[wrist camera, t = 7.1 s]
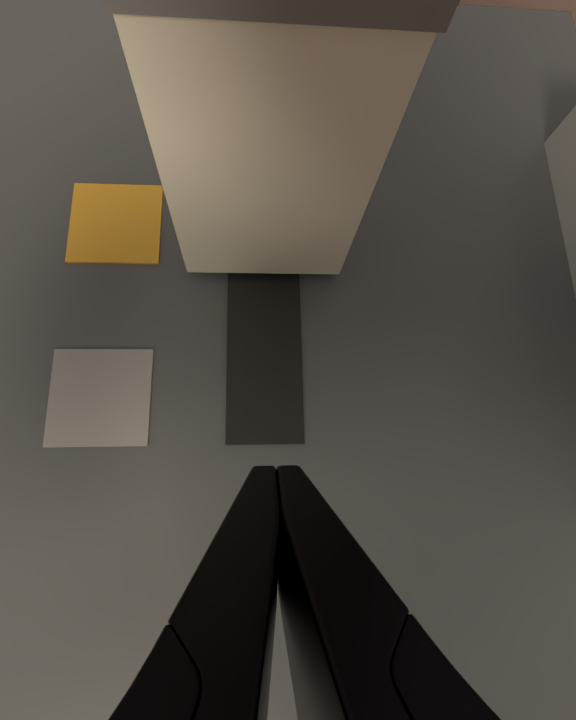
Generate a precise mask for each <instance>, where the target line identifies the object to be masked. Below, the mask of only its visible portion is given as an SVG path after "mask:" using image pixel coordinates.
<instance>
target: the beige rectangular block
mask: <svg viewBox="0 0 576 720" xmlns="http://www.w3.org/2000/svg"><path fill="white" fill-rule="evenodd" d="M459 1H460V0H100V3H101V6H102V9H103V13H109V14H113V16H114V20H115V23H116V27H117V30H118V34H119V37H120V41H121V44H122V48H123V51H124V55H125V58H126V62H127V65H128V69H129V72H130V76H131V79H132V82H133V86H134V89H135V93H136V96H137V100H138V103H139V107H140V110H141V114H142V117H143V121H144V124H145V128H146V131H147V135H148V138H149V142H150V145H151V148H152V152H153V155H154V159H155V162H156V166H157V169H158V173H159V176H160V180H161V183H162V187H163V190H164V194H165V197H166V201H167V204H168V208H169V211H170V214H171V218H172V221H173V225H174V228H175V232H176V235H177V239H178V242H179V246H180V249H181V253H182V256H183V260H184V263H185V267H186V270H187V272H203V273H271V274H338V275H339V274H340V271H341V269H342V266H343V264H344V261H345V259H346V256H347V254H348V251H349V249H350V246H351V244H352V241H353V239H354V236H355V234H356V232H357V229H358V227H359V224H360V222H361V219H362V217H363V214H364V212H365V209H366V207H367V204H368V202H369V199H370V197H371V194H372V192H373V190H374V187H375V185H376V182H377V180H378V177H379V175H380V172H381V170H382V167H383V165H384V162H385V160H386V157H387V155H388V152H389V150H390V148H391V145H392V143H393V140H394V138H395V135H396V133H397V130H398V128H399V125H400V123H401V120H402V118H403V115H404V113H405V110H406V108H407V106H408V103H409V101H410V98H411V96H412V93H413V91H414V88H415V86H416V83H417V81H418V78H419V76H420V73H421V71H422V68H423V66H424V64H425V61H426V59H427V56H428V54H429V51H430V49H431V46H432V44H433V41H434V39H435V36H436V34H437V32H438V33H446V32H447V29H448V27H449V25H450V22H451V20H452V17H453V15H454V13H455V10H456V8H457V6H458V3H459Z"/></svg>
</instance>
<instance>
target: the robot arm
mask: <svg viewBox="0 0 576 720" xmlns="http://www.w3.org/2000/svg"><path fill="white" fill-rule="evenodd" d="M277 589H278V594H279V602H280V609H281V616H282V622H283V628H284V635H285V641H286V648H287V654H288V660H289V667H290V673H291V680H292V686H293V692H294V699H295V705H296V712H297V718H298V720H501V719H500V718H499V717H498V716H497V715H496V713H495V712H494V711H493V710H492V709H491V708H490V707H489V706H488V705H487V704H486V703H485V701H484V700H483V699H482V698H481V697H480V696H479V695H478V694H477V692H476V691H475V690H474V689H473V688H472V687H471V686H470V685H469V683H468V682H467V681H466V680H465V679H464V678H463V677H462V676H461V674H460V673H459V672H458V671H457V670H456V669H455V668H454V666H453V665H452V664H451V663H450V661H449V660H448V659H447V658H446V656H445V655H444V654H443V653H442V651H441V650H440V649H439V648H438V646H437V645H436V644H435V643H434V641H433V640H432V639H431V638H430V636H429V635H428V634H427V633H426V631H425V630H424V629H423V627H422V626H421V625H420V623H419V622H418V621H417V619H416V618H415V617H414V615H413V614H409V609H408V608H407V606H406V605H405V604H404V602H403V601H402V600H401V599H400V597H399V596H398V595H397V593H396V592H395V591H394V589H393V588H392V587H391V585H390V584H389V583H388V581H387V580H386V579H385V578H384V576H383V575H382V574H381V572H380V571H379V570H378V568H377V567H376V566H375V564H374V563H373V562H372V560H371V559H370V558H369V556H368V555H367V554H366V553H365V551H364V550H363V549H362V547H361V546H360V545H359V543H358V542H357V541H356V539H355V538H354V537H353V535H352V534H351V533H350V532H349V530H348V529H347V528H346V526H345V525H344V524H343V522H342V521H341V520H340V518H339V517H338V516H337V514H336V513H335V512H334V510H333V509H332V508H331V507H330V505H329V504H328V503H327V501H326V500H325V499H324V497H323V496H322V495H321V493H320V492H319V491H318V489H317V488H316V487H315V486H314V484H313V483H312V482H311V480H310V479H309V478H308V476H307V475H306V474H305V472H304V471H303V470H302V468H301V467H300V466H298V465H280V466H278V467H277V469H276V468H275V467H274V466H254V467H253V468H252V469H251V471H250V472H249V474H248V476H247V478H246V480H245V481H244V483H243V485H242V487H241V489H240V491H239V492H238V494H237V496H236V498H235V500H234V502H233V503H232V505H231V507H230V509H229V511H228V512H227V514H226V516H225V518H224V520H223V522H222V523H221V525H220V527H219V529H218V531H217V532H216V534H215V536H214V538H213V540H212V542H211V543H210V545H209V547H208V549H207V551H206V552H205V554H204V556H203V558H202V560H201V562H200V563H199V565H198V567H197V569H196V571H195V572H194V574H193V576H192V578H191V580H190V582H189V583H188V585H187V587H186V589H185V591H184V592H183V594H182V596H181V598H180V600H179V602H178V603H177V605H176V607H175V609H174V611H173V612H172V614H171V616H170V618H169V620H168V625H165V627H164V628H163V630H162V632H161V634H160V636H159V637H158V639H157V641H156V643H155V645H154V646H153V648H152V650H151V652H150V653H149V655H148V657H147V659H146V660H145V662H144V664H143V665H142V667H141V669H140V670H139V672H138V674H137V676H136V677H135V679H134V681H133V682H132V684H131V686H130V687H129V689H128V690H127V692H126V693H125V695H124V696H123V698H122V699H121V701H120V702H119V704H118V705H117V707H116V708H115V710H114V711H113V713H112V715H111V716H110V718H109V719H108V720H267V717H268V705H269V693H270V681H271V669H272V657H273V645H274V633H275V621H276V609H277ZM408 614H409V615H408Z"/></svg>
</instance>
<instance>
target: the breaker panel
mask: <svg viewBox="0 0 576 720" xmlns="http://www.w3.org/2000/svg"><path fill="white" fill-rule="evenodd" d="M280 465H298V466H300V467H301V468H302V470H303V471H304V472H305V474H306V475H307V476H308V478H309V479H310V480H311V482H312V483H313V484H314V486H315V487H316V488H317V489H318V491H319V492H320V493H321V495H322V496H323V497H324V499H325V500H326V501H327V503H328V504H329V505H330V507H331V508H332V509H333V510H334V512H335V513H336V514H337V516H338V517H339V518H340V520H341V521H342V522H343V524H344V525H345V526H346V528H347V529H348V530H349V532H350V533H351V534H352V535H353V537H354V538H355V539H356V541H357V542H358V543H359V545H360V546H361V547H362V549H363V550H364V551H365V553H366V554H367V555H368V556H369V558H370V559H371V560H372V562H373V563H374V564H375V566H376V567H377V568H378V570H379V571H380V572H381V574H382V575H383V576H384V578H385V579H386V580H387V581H388V583H389V584H390V585H391V587H392V588H393V589H394V591H395V592H396V593H397V595H398V596H399V597H400V599H401V600H402V601H403V602H404V604H405V605H406V606H407V608H408V609H409V614H413V615H414V617H415V618H416V619H417V621H418V622H419V623H420V625H421V626H422V627H423V629H424V630H425V631H426V633H427V634H428V635H429V636H430V638H431V639H432V640H433V641H434V643H435V644H436V645H437V646H438V648H439V649H440V650H441V651H442V653H443V654H444V655H445V656H446V658H447V659H448V660H449V661H450V663H451V664H452V665H453V666H454V668H455V669H456V670H457V671H458V672H459V673H460V674H461V676H462V677H463V678H464V679H465V680H466V681H467V682H468V683H469V685H470V686H471V687H472V688H473V689H474V690H475V691H476V692H477V694H478V695H479V696H480V697H481V698H482V699H483V700H484V701H485V703H486V704H487V705H488V706H489V707H490V708H491V709H492V710H493V711H494V712H495V713H496V715H497V716H498V717H499V718H500V719H501V720H576V30H575V26H574V22H573V18H572V14H571V12H570V11H554V10H538V9H522V8H506V7H490V6H474V5H459V4H458V6H457V8H456V10H455V13H454V15H453V17H452V20H451V22H450V25H449V27H448V29H447V32H446V33H438V32H437V34H436V36H435V39H434V41H433V44H432V46H431V49H430V51H429V54H428V56H427V59H426V61H425V64H424V66H423V68H422V71H421V73H420V76H419V78H418V81H417V83H416V86H415V88H414V91H413V93H412V96H411V98H410V101H409V103H408V106H407V108H406V110H405V113H404V115H403V118H402V120H401V123H400V125H399V128H398V130H397V133H396V135H395V138H394V140H393V143H392V145H391V148H390V150H389V152H388V155H387V157H386V160H385V162H384V165H383V167H382V170H381V172H380V175H379V177H378V180H377V182H376V185H375V187H374V190H373V192H372V194H371V197H370V199H369V202H368V204H367V207H366V209H365V212H364V214H363V217H362V219H361V222H360V224H359V227H358V229H357V232H356V234H355V236H354V239H353V241H352V244H351V246H350V249H349V251H348V254H347V256H346V259H345V261H344V264H343V266H342V269H341V271H340V274H339V275H338V274H271V273H203V272H187V270H186V267H185V263H184V260H183V256H182V253H181V249H180V246H179V242H178V239H177V235H176V232H175V228H174V225H173V221H172V218H171V214H170V211H169V208H168V204H167V201H166V197H165V194H164V190H163V187H162V183H161V180H160V176H159V173H158V169H157V166H156V162H155V159H154V155H153V152H152V148H151V145H150V142H149V138H148V135H147V131H146V128H145V124H144V121H143V117H142V114H141V110H140V107H139V103H138V100H137V96H136V93H135V89H134V86H133V82H132V79H131V76H130V72H129V69H128V65H127V62H126V58H125V55H124V51H123V48H122V44H121V41H120V37H119V34H118V30H117V27H116V23H115V20H114V16H113V14H109V13H103V9H102V6H101V3H100V0H0V720H108V719H109V718H110V716H111V715H112V713H113V711H114V710H115V708H116V707H117V705H118V704H119V702H120V701H121V699H122V698H123V696H124V695H125V693H126V692H127V690H128V689H129V687H130V686H131V684H132V682H133V681H134V679H135V677H136V676H137V674H138V672H139V670H140V669H141V667H142V665H143V664H144V662H145V660H146V659H147V657H148V655H149V653H150V652H151V650H152V648H153V646H154V645H155V643H156V641H157V639H158V637H159V636H160V634H161V632H162V630H163V628H164V627H165V625H168V620H169V618H170V616H171V614H172V612H173V611H174V609H175V607H176V605H177V603H178V602H179V600H180V598H181V596H182V594H183V592H184V591H185V589H186V587H187V585H188V583H189V582H190V580H191V578H192V576H193V574H194V572H195V571H196V569H197V567H198V565H199V563H200V562H201V560H202V558H203V556H204V554H205V552H206V551H207V549H208V547H209V545H210V543H211V542H212V540H213V538H214V536H215V534H216V532H217V531H218V529H219V527H220V525H221V523H222V522H223V520H224V518H225V516H226V514H227V512H228V511H229V509H230V507H231V505H232V503H233V502H234V500H235V498H236V496H237V494H238V492H239V491H240V489H241V487H242V485H243V483H244V481H245V480H246V478H247V476H248V474H249V472H250V471H251V469H252V468H253V467H254V466H274V467H275V468H276V469H277V467H278V466H280ZM409 614H408V615H409ZM267 720H298V718H297V712H296V705H295V699H294V692H293V686H292V680H291V673H290V667H289V660H288V654H287V648H286V641H285V635H284V628H283V622H282V616H281V609H280V602H279V594H278V589H277V609H276V621H275V633H274V645H273V657H272V669H271V681H270V693H269V705H268V717H267Z"/></svg>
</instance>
